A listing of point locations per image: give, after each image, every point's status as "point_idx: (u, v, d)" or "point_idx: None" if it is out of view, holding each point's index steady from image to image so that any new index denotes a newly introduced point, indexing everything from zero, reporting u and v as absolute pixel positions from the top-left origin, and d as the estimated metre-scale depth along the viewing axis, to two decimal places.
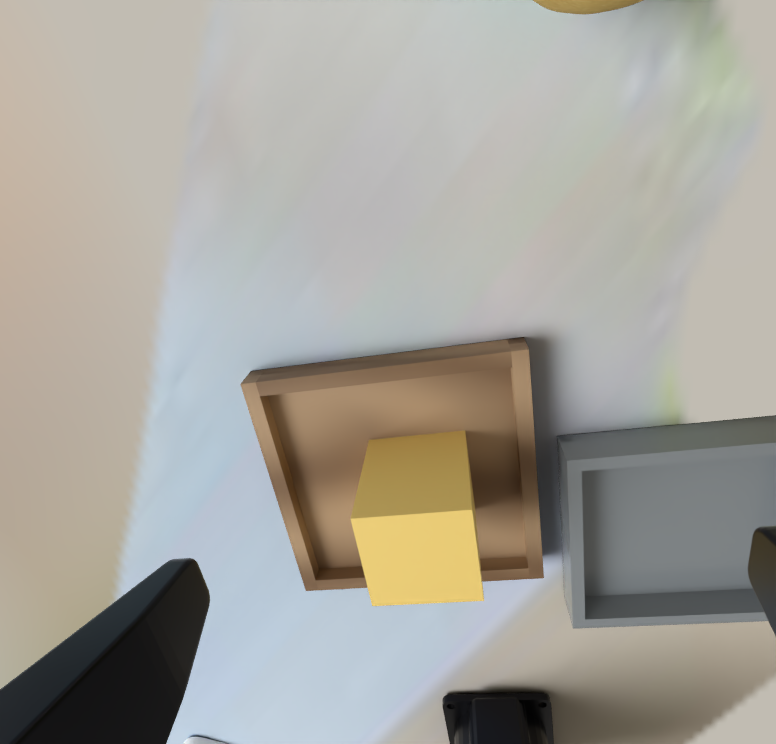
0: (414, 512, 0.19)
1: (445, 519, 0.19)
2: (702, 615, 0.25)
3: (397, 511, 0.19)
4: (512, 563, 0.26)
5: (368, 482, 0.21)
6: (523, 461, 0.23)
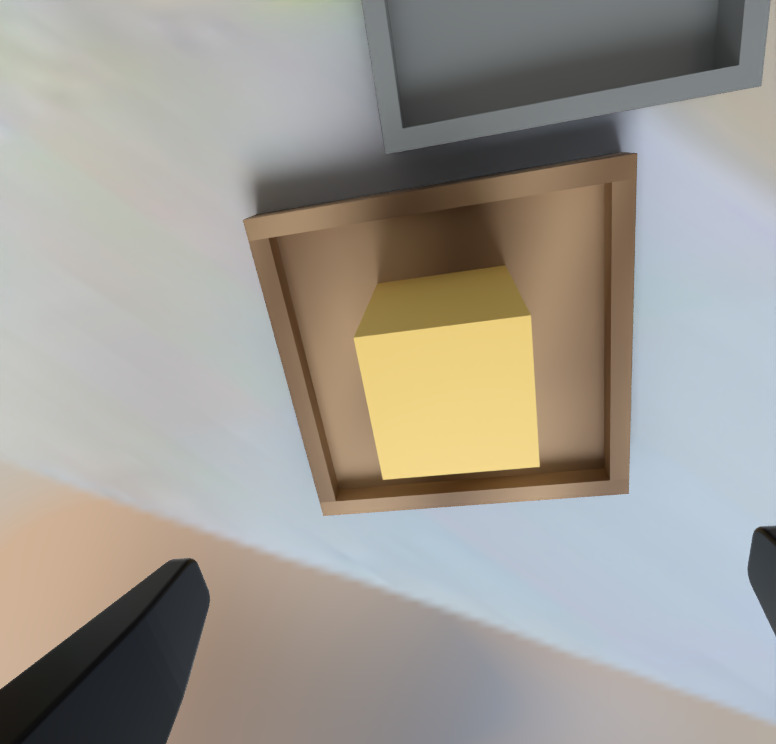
0: (368, 406, 0.14)
1: (373, 371, 0.14)
2: None
3: (373, 424, 0.15)
4: (608, 205, 0.16)
5: None
6: (405, 210, 0.16)
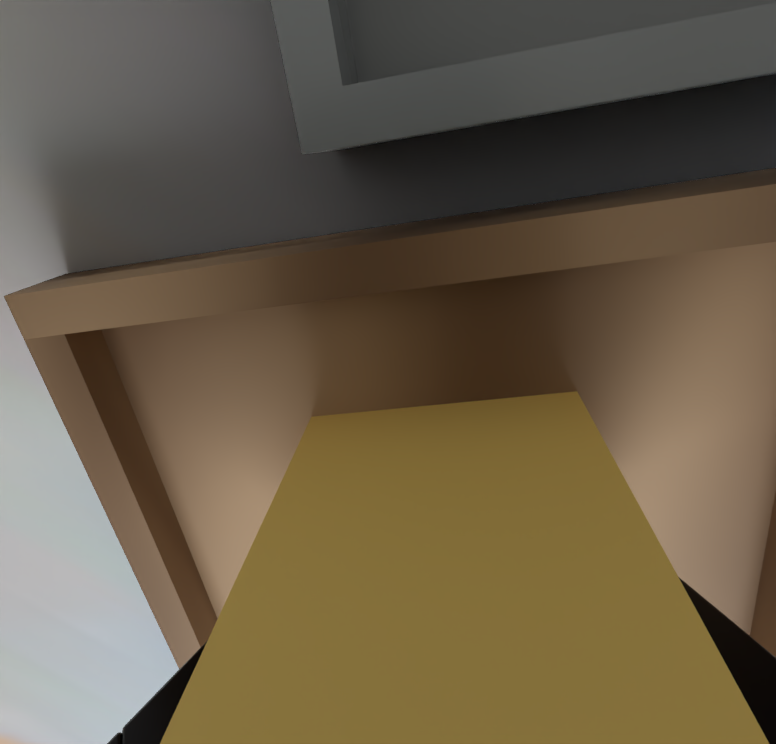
0: None
1: None
2: None
3: None
4: None
5: None
6: (359, 284, 0.07)
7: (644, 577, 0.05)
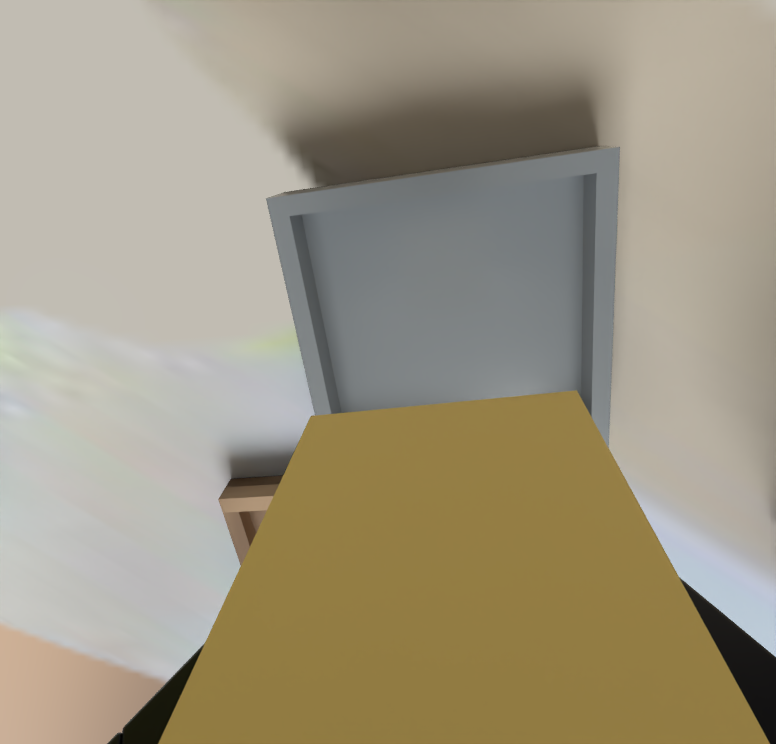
0: None
1: None
2: (594, 295, 0.16)
3: None
4: None
5: None
6: None
7: (644, 576, 0.05)
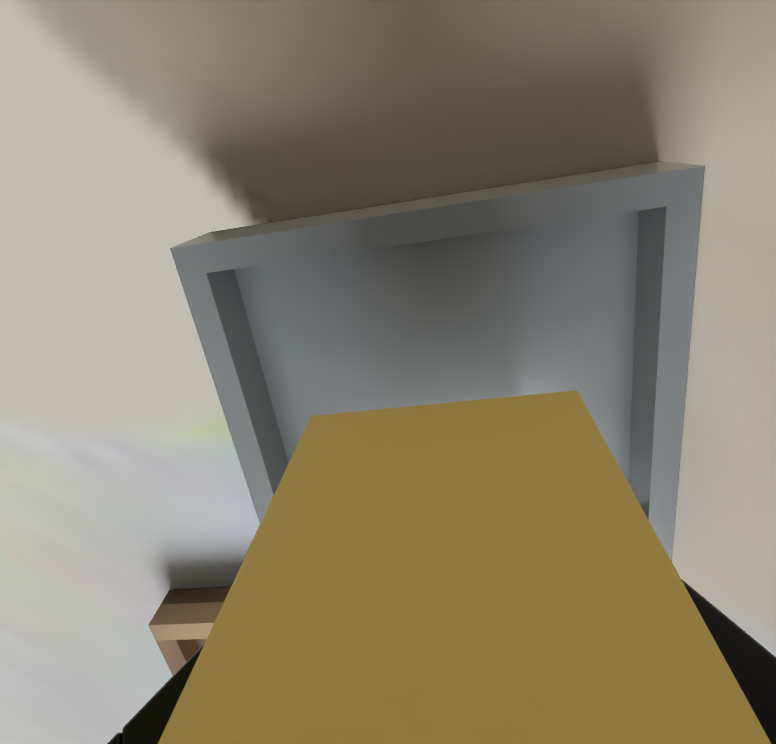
0: None
1: None
2: (657, 380, 0.11)
3: None
4: None
5: None
6: None
7: (644, 576, 0.05)
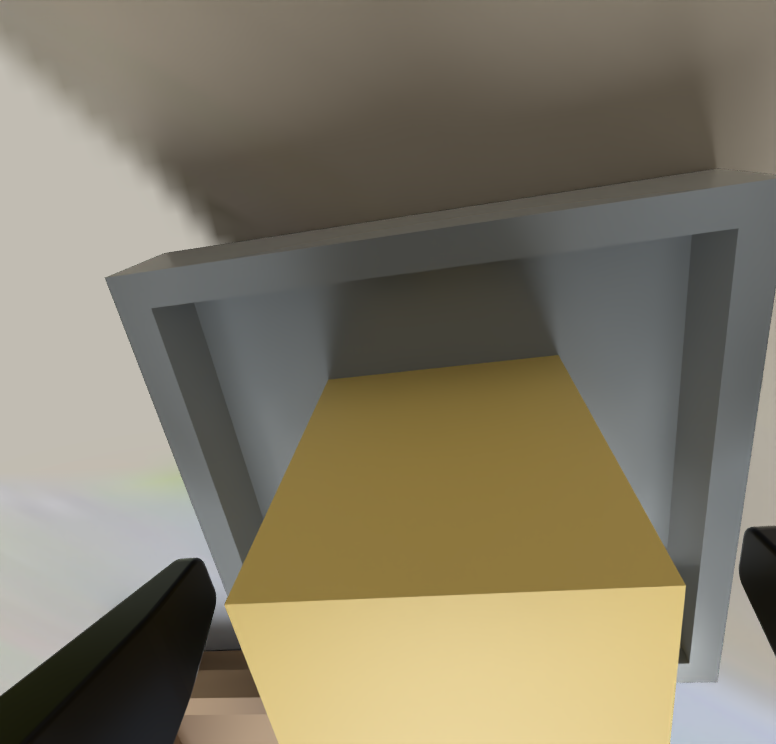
0: (275, 723, 0.06)
1: (280, 669, 0.06)
2: (714, 442, 0.09)
3: None
4: None
5: None
6: None
7: (601, 480, 0.06)
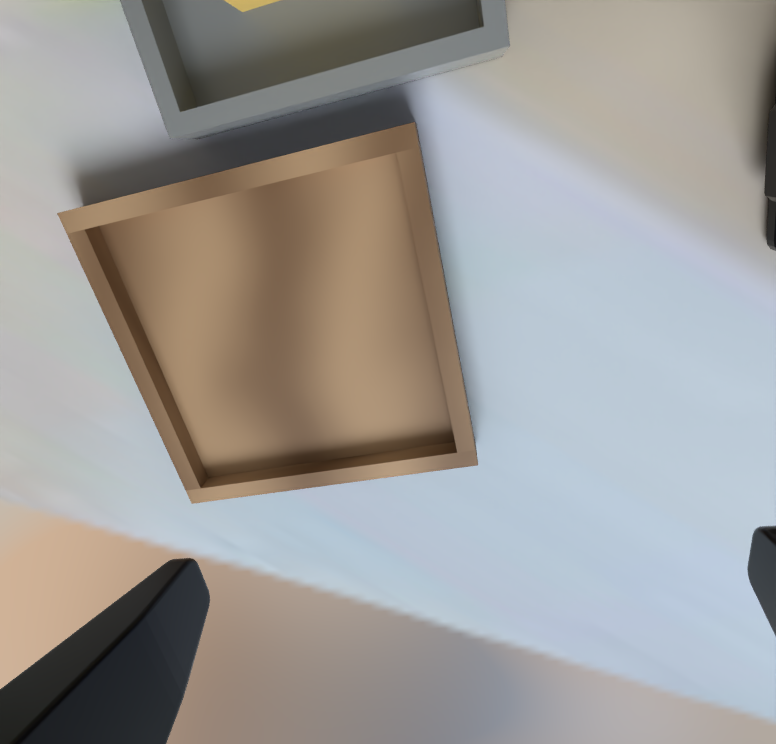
0: None
1: None
2: None
3: None
4: None
5: None
6: (206, 194, 0.17)
7: None
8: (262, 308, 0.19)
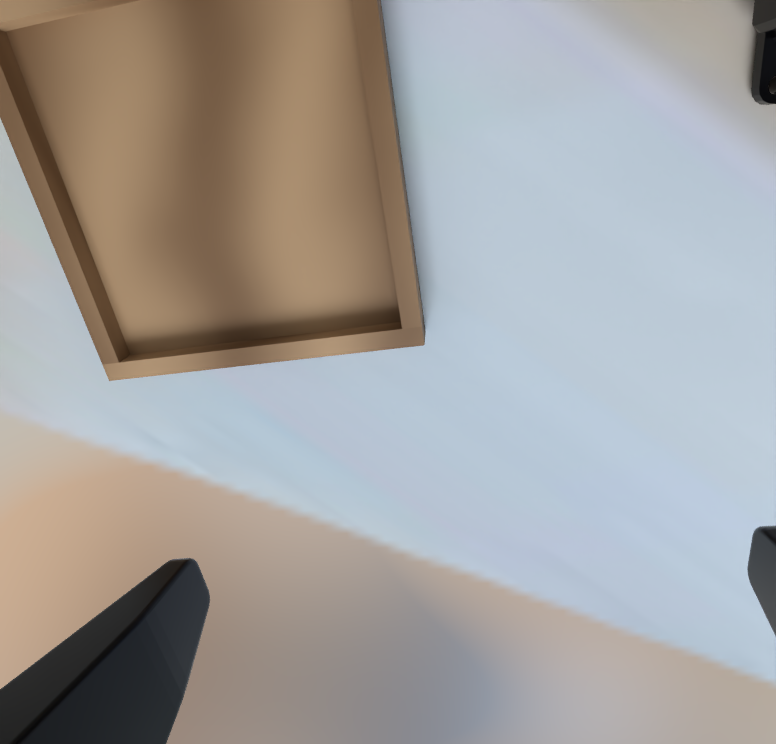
0: None
1: None
2: None
3: None
4: None
5: None
6: None
7: None
8: (191, 146, 0.17)
